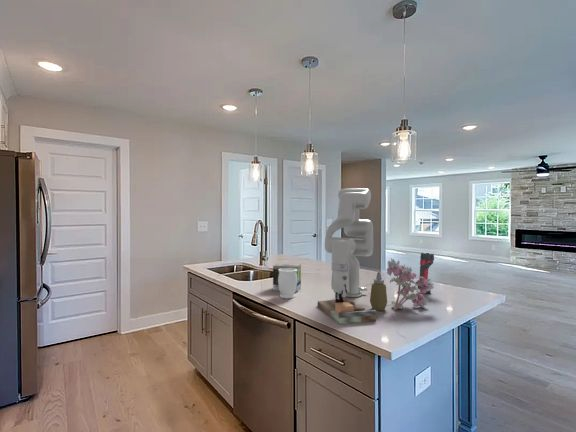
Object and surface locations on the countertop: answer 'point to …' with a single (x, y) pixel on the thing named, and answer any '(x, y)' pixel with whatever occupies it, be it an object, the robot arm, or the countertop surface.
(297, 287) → the tea box
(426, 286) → the flower
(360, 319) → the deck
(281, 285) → the jar
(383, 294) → the squeeze bottle
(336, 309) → the block
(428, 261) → the flashlight
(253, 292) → the countertop surface
